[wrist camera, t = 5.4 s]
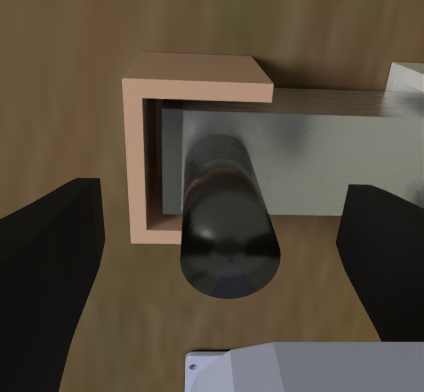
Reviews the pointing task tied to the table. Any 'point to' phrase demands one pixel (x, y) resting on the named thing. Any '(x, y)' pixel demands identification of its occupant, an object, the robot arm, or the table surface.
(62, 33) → the table surface
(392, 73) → the white channel beam
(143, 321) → the table surface
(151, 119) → the socket
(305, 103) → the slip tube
